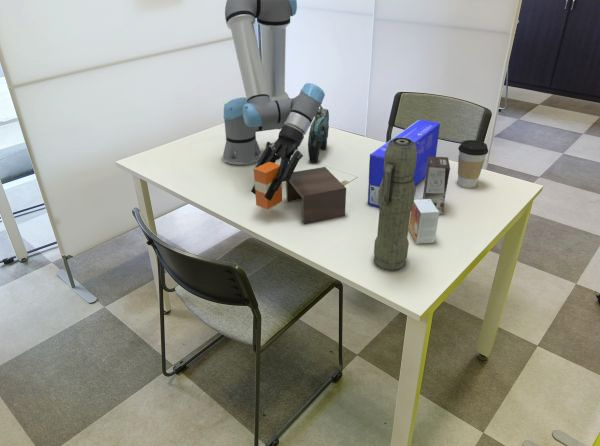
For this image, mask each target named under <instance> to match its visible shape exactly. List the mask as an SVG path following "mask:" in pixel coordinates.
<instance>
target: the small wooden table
mask: <svg viewBox="0 0 600 446" xmlns="http://www.w3.org/2000/svg"><path fill="white" fill-rule="evenodd" d="M285 199H286V202H287V203H290V202H295V201H300V200H301V206H302V207H301V221H302V224H303V225H308V224H312V223H317V222H322V221H323V222H324V221H327V220H332V219H338V218H342V217H346V201H347V187H346V186H345V185H344V184H343V183H342V182H341V181H340V180H339V179H338V178H337V177H335V175H334V174H333V173H332V172H331V171H330V170H329V169H328V168H327V167H326V166H321V167H316V168H308V169H303V170H298V171H294V172H293V174H292V176H291V178H290V180H289V182H286V181H285Z"/></svg>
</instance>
